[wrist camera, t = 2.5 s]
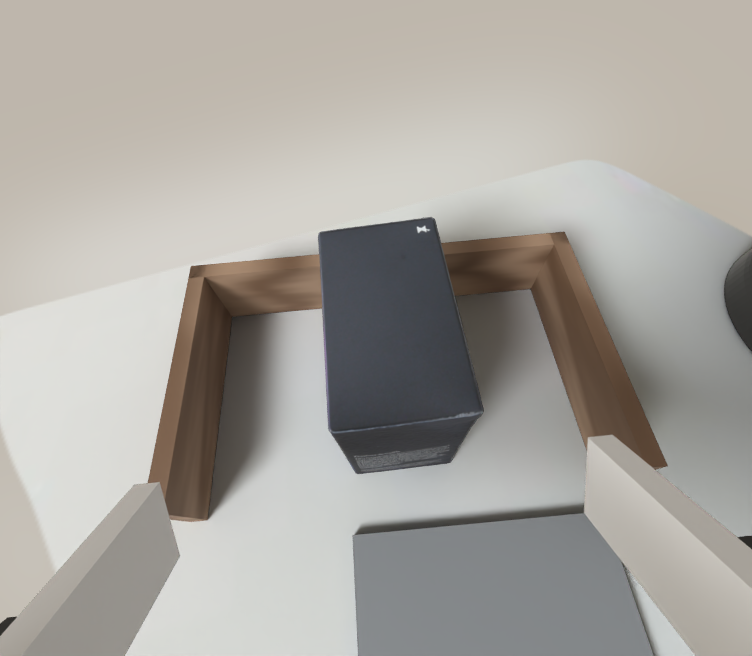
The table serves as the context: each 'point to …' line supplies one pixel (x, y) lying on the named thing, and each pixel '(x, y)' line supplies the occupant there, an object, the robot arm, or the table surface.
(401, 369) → the small box
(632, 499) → the robot arm
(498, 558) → the rubber mat
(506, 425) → the table surface
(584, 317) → the walnut bay
